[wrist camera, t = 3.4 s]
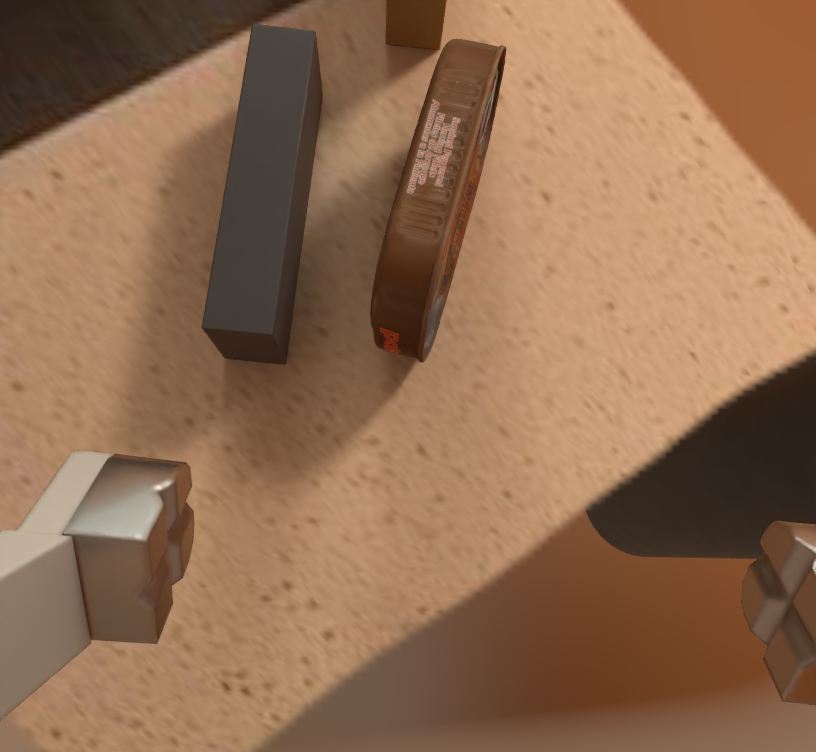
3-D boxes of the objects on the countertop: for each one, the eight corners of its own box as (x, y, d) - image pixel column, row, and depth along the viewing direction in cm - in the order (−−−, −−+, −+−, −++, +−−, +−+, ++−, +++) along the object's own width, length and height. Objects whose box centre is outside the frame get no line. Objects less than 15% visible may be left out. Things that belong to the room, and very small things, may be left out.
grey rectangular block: (322, 94, 39) (316, 29, 34) (285, 365, 36) (272, 336, 31) (266, 88, 39) (251, 22, 34) (224, 358, 36) (201, 328, 31)
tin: (423, 382, 36) (438, 332, 28) (360, 365, 36) (357, 310, 28) (496, 119, 39) (529, 6, 31) (439, 104, 40) (457, -13, 31)
